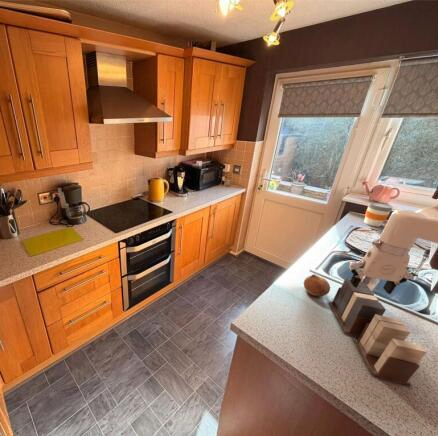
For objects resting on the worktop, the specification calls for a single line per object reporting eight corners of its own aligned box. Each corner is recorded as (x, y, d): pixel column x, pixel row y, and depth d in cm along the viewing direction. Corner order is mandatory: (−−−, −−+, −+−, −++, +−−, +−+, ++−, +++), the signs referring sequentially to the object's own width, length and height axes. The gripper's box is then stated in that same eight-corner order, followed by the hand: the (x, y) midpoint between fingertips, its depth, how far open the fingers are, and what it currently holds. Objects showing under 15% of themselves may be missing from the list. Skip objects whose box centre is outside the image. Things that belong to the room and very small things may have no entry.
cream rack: (384, 347, 80) (403, 318, 74) (409, 385, 69) (434, 355, 63) (353, 339, 83) (369, 311, 77) (372, 375, 72) (393, 346, 66)
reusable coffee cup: (385, 229, 161) (395, 209, 154) (362, 224, 167) (371, 205, 161) (381, 222, 170) (390, 203, 164) (359, 218, 177) (367, 200, 170)
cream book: (361, 321, 89) (375, 296, 83) (364, 326, 87) (379, 300, 81) (341, 317, 91) (353, 292, 85) (343, 322, 89) (357, 296, 83)
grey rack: (353, 308, 96) (367, 281, 90) (374, 340, 83) (392, 312, 77) (328, 302, 99) (340, 277, 93) (344, 333, 85) (359, 305, 79)
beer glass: (365, 307, 97) (381, 279, 90) (345, 298, 101) (358, 271, 95) (368, 299, 101) (383, 272, 94) (348, 291, 105) (361, 264, 99)
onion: (302, 293, 108) (299, 272, 108) (325, 292, 105) (322, 270, 105) (310, 301, 99) (306, 278, 99) (336, 300, 96) (332, 276, 96)
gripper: (365, 248, 74) (345, 289, 81) (435, 258, 69) (407, 301, 76) (354, 237, 80) (336, 276, 87) (418, 246, 75) (393, 286, 83)
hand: (369, 288), depth 82 cm, fingers open, 9 cm apart
